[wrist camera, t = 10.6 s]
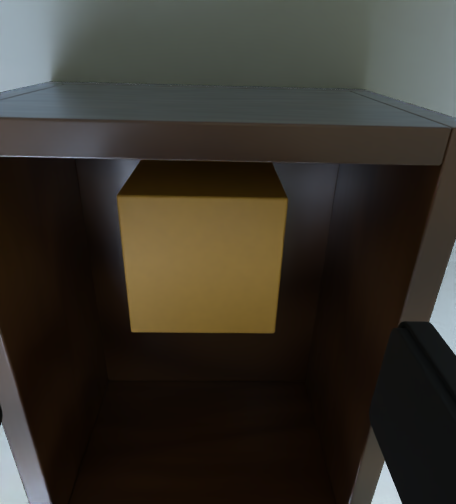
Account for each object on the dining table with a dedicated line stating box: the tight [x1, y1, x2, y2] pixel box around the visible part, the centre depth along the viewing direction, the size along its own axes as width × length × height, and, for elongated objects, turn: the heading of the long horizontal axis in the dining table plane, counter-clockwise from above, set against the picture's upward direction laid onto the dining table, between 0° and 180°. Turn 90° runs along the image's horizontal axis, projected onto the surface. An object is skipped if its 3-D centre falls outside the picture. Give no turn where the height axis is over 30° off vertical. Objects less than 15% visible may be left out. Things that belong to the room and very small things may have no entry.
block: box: [116, 160, 288, 333], centre depth 16 cm, size 5×5×5 cm
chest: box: [0, 82, 456, 504], centre depth 17 cm, size 17×13×9 cm
